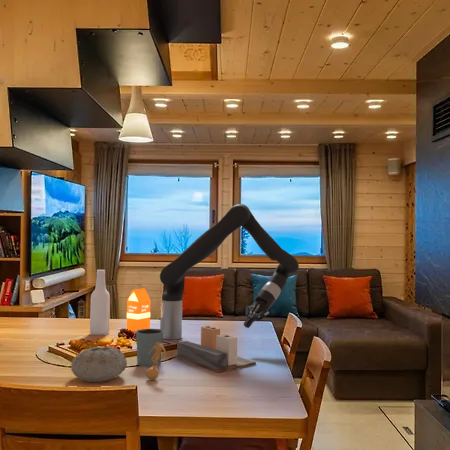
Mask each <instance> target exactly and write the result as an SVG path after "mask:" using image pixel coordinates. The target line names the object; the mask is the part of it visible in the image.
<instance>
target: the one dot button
mask: <svg viewBox="0 0 450 450" xmlns="http://www.w3.org/2000/svg"><path fill="white" fill-rule="evenodd" d="M216 350H218V351H221V352H225V353H227V365H228V366H229V365H234V364H237V356H238V337H237V336H233V335H229V334H227V333H224V334H220V335H216Z"/></svg>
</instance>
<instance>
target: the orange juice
mask: <svg viewBox="0 0 450 450" xmlns="http://www.w3.org/2000/svg"><path fill="white" fill-rule="evenodd" d="M127 329H128V330H127ZM140 329H151V299H150V296H149V294H148V292H147V290H146V288H137V289H133V290H132V291H131V293H130V295H129V297H128V298H127V299H126V330H127V331H129V330H131V332H135V333H136V331H137V330H140Z"/></svg>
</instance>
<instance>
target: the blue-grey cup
mask: <svg viewBox="0 0 450 450" xmlns="http://www.w3.org/2000/svg"><path fill="white" fill-rule="evenodd" d="M135 339H136V353H137V355H136V361H137V365H138V366H140V367H144V368H145V367H147V368H150V367H152V365H153V364H154V363H153V362H152V360H151V358H152V357H153V356H154V353H156V349H155V348H154V349H153V350H152V351H151V352H150V350H151V349H152V348H153V347H154V346H156V343H157V342H158V343H160V344H163V340H164V339H163V330H160V329H159V328H150V329H140V330H137V331H136V332H135ZM149 352H150V353H149ZM148 354H149V355H148ZM154 361H155V359H154ZM157 362H158V365H157V367H158V366H160V365H161V363H162V351H161V352H160V357H159V359H158V360H157ZM155 366H156V362H155V365H154V367H155Z"/></svg>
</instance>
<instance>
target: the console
mask: <svg viewBox="0 0 450 450" xmlns="http://www.w3.org/2000/svg"><path fill="white" fill-rule="evenodd" d="M176 345H177V347H176V348H177V354H175V358H176V359H179V360H181V361H184V362H186V363H191V364H192V365H196V366H197V367H201V368H203V369H206V370H209V371H212V372H215V373H218V374H221V373H224V372H229V371H235V370H238V369H242V368H247V367H251V366H257V361H254V360H250V359H248V358H245V357H241V356H238V355H237V364H234V365H229V366H228V365H227V353H225V352H221V351H218V350H215V349H212V348H208V347H205V346H202V345H201V344H198V343H195V342H192V341H189V340H184V341H179V342H178V341H177V344H176Z"/></svg>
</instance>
